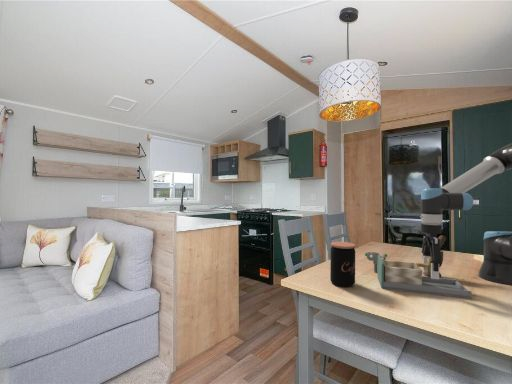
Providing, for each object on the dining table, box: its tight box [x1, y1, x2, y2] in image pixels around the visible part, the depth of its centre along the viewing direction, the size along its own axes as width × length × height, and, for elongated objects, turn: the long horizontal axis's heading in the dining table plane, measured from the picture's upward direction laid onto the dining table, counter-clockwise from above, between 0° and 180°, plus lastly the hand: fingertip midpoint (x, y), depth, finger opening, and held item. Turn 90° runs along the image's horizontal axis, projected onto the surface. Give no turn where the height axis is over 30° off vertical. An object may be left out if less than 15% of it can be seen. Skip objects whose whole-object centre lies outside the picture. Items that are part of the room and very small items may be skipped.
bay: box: [377, 254, 473, 300], centre depth 113 cm, size 32×15×11 cm, turn 71°
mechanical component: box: [364, 251, 388, 274], centre depth 133 cm, size 3×10×10 cm, turn 79°
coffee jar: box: [329, 241, 356, 288], centre depth 117 cm, size 11×11×18 cm
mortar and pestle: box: [421, 234, 447, 278], centre depth 129 cm, size 12×9×20 cm
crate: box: [382, 258, 432, 285], centre depth 115 cm, size 20×12×12 cm, turn 71°
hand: (430, 274), depth 112 cm, fingers open, 11 cm apart
